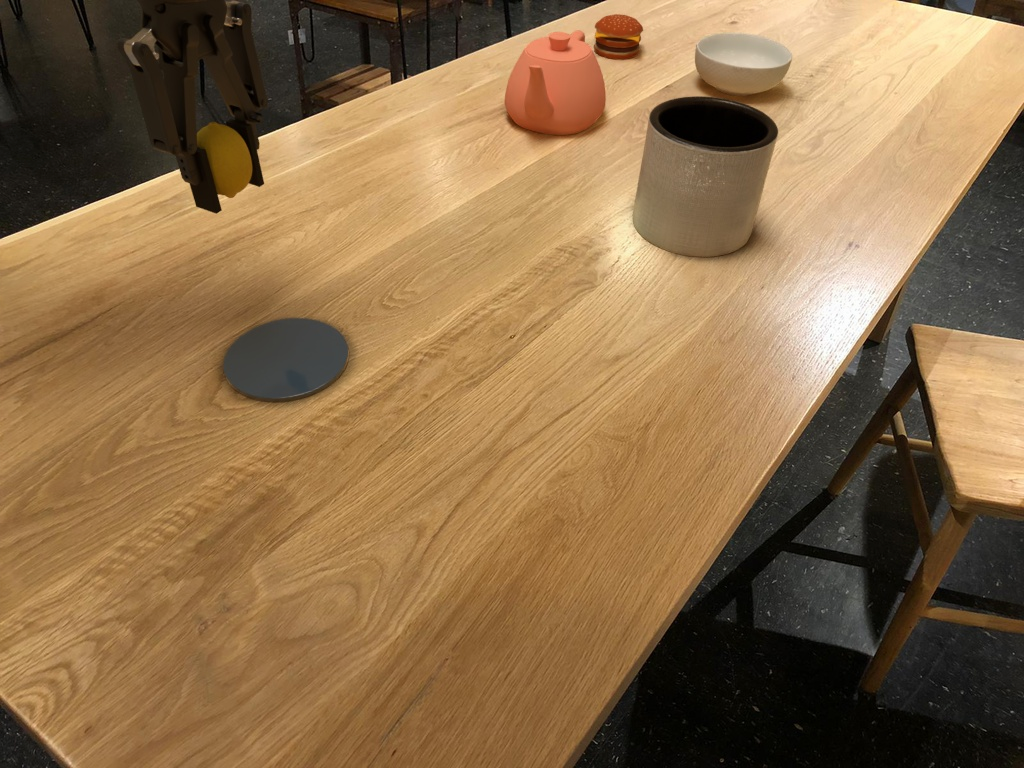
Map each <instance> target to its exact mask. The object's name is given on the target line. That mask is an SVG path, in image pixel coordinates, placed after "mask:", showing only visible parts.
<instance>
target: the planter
mask: <svg viewBox="0 0 1024 768" xmlns="http://www.w3.org/2000/svg"><path fill="white" fill-rule="evenodd" d="M645 133H646V134H645V140H644V146H643V150H642V151H643V152H642V157H641V163H640V170H639V174H638V180H637V186H636V192H635V198H634V205H633V209H632V222H633V226H634V228H635V230H636V231H637V232H638V233H639V235H640V237H642V238H643V239H645V240H646V241H647V242H649V244H652V245H653V246H654V247H655V246H656V247H657V248H660V249H662V250H665V251H667V252H670V253H673V254H677V255H681V256H688V257H695V258H696V257H697V258H711V257H712V258H713V257H720V256H725V255H729V254H731V253H733V252H736V251H738V250H740V249H741V248H743V247H744V246H745V245H746V244H747V243H748V241H749V239H750V237H751V235H752V233H753V230H754V227H755V222H756V218H757V214H758V212H759V211H758V210H759V207H760V203H761V200H762V195H763V193H764V187H765V183H766V180H767V177H768V173H769V169H770V165H771V162H772V158H773V154H774V151H775V147H776V142H777V139H778V137H779V129H778V126H777V123H776V122H775V121H774V119H772V117H770V116H769V115H768V114H766V113H765V112H763V111H762V110H760V109H759V108H758V109H757V108H756V107H754V106H751V105H749V104H747V103H743V102H740V101H737V100H732V99H729V98H722V97H715V96H703V95H702V96H700V95H697V96H681V97H677V98H671V99H668V100H666V101H663V102H661V103H659V104H657V105H656V106H655V107H653V109H651V111H650V113H649V115H648V122H647V127H646V132H645Z"/></svg>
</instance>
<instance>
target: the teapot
mask: <svg viewBox="0 0 1024 768" xmlns="http://www.w3.org/2000/svg"><path fill="white" fill-rule="evenodd" d="M585 34H586V33H585V32H584V31H583V30H574V31H573V32H571V34H569V33H567V32H564V31H553V32H550V33H549V34H548V36H544V37H540V38H536V39H534V40H532V41H530V42H529V43H528V44H527V45H526V46H525V47H524V49H523V51H522V52H521V54H520V55H519V57H518V59H517V61H516V62H515V63H514V66H513V68H512V70H511V72H510V74H509V78H508V80H507V83H506V88H505V94H504V107H505V110H506V112H507V114H508V115H509V116H510V118H511V119H512V121H513V122H514V123H515V124H516V125H517V126H519V127H521V128H523V129H525V130H528V131H530V132H531V131H532V132H535V133H540V134H546V135H551V136H552V135H553V136H569V135H576V134H578V133H581V132H583V131H586V130H587V129H589V128H590V127H591V126H592V125H593V124H595V122H597V120H598V119H600V117H601V116H602V115H603V112H604V110H605V108H606V103H607V102H606V101H607V98H606V97H607V96H606V85H605V80H604V75H603V71H602V69H601V66H600V63H599V61H598V58H597V57H596V54H595V51H593V50H594V49H593V48H592V47H591V45H590V44H589V43H587V42H586V35H585Z"/></svg>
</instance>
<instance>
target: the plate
mask: <svg viewBox="0 0 1024 768" xmlns="http://www.w3.org/2000/svg"><path fill="white" fill-rule="evenodd" d="M349 351H350V350H349V345H348V341H347V340H346V338H345V337H344V335H343V334H342V333H341V332H340V331H339V330H338V329H337V328H335V327H334V326H332V325H331V324H328V323H326V322H323V321H320V320H317V319H313V318H306V317H305V318H303V317H291V318H281V319H276V320H271V321H268V322H265V323H261V324H260V325H257V326H255V327H253V328H250V329H249V330H247V331H246V332H244V333H243V334H241V335H240V336H238V338H236V340H234V342H232V343H231V345H230V346H229V347H228V349H227V351H226V353H225V355H224V358H223V364H222V369H223V373H224V377H225V379H226V382H227V383H228V385H229V386H230V387H231V388H232V390H234V391H235V392H237V393H238V394H239V395H241V396H243V397H245V398H248V399H251V400H255V401H258V402H264V403H265V402H266V403H286V402H294V401H298V400H302V399H305V398H308V397H311V396H313V395H317V394H318V393H320V392H322V391H324V390H325V389H326V388H329V387H330V386H332V384H334V383H335V382H336V381H337V380H338V379H339V378H340V377H342V375H343V373H344V372H345V370H346V368H347V366H348V363H349V359H350V352H349Z"/></svg>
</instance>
